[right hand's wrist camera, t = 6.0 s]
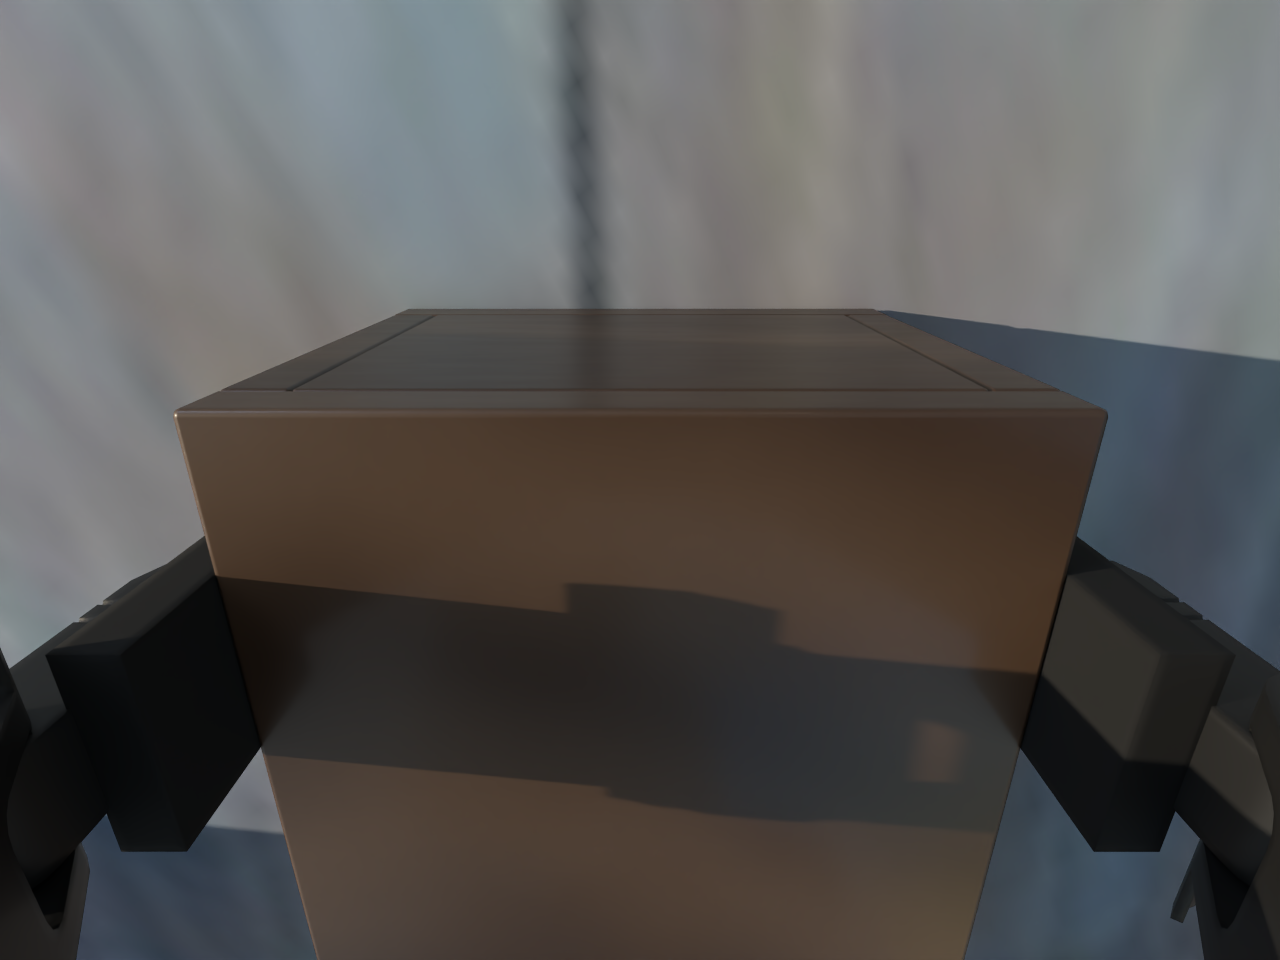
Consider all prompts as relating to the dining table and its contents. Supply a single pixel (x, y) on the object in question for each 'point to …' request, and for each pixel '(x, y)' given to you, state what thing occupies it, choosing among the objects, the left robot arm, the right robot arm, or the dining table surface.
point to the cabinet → (640, 626)
